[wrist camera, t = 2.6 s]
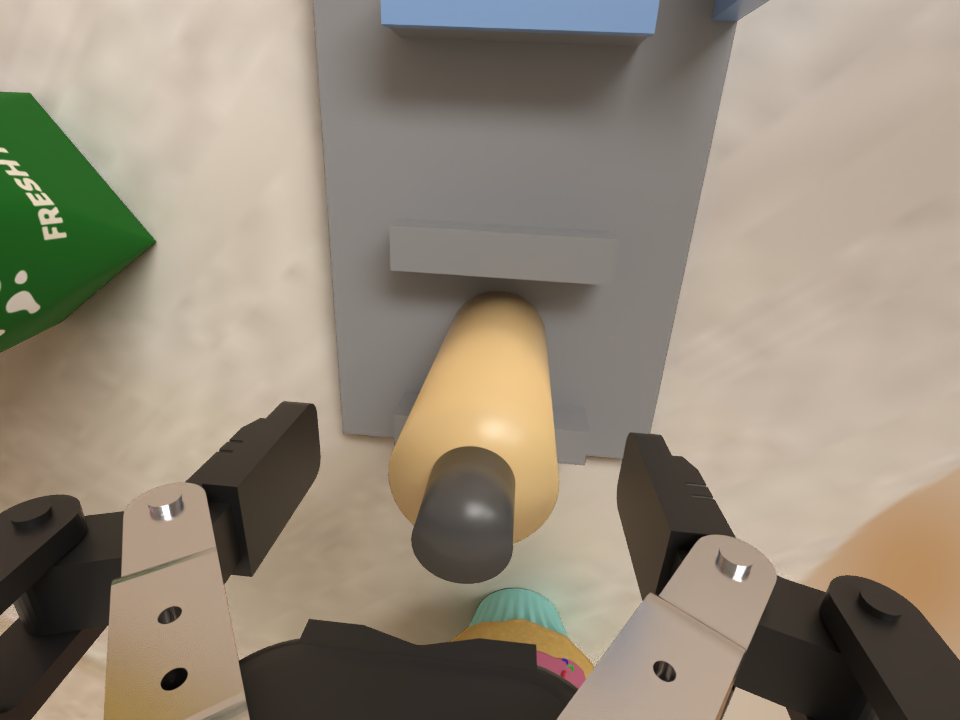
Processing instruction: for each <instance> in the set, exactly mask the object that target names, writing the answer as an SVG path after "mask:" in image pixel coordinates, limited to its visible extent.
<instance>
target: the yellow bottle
mask: <svg viewBox="0 0 960 720" xmlns="http://www.w3.org/2000/svg"><path fill="white" fill-rule="evenodd" d="M388 476H389V484H390V488H391V492H392V495H393V497H394V500H395V502H396V504H397V505H398V507H399V509H400V510H401V512H402V513H403V514H404V515H405V517H406V518H407V519H408V520H409V521H410V522H411V523H412V524H413V525H414V528H413V532H412V538H411V542H412V548H413V551H414V554H415V556H416V557H417V559H418V561H419V562H420V563H421V564H422V565H423V566H424V567H425V568H426V569H427V570H428V571H429V572H431V573H432V574H434V575H435V576H437V577H439V578H442V579H444V580H447V581H451V582H455V583H463V584H473V583H479V582H483V581H486V580H489V579H491V578H493V577H495V576H497V575H498V574H500V573H501V572H502V571H503V570H504V569H505V568H506V566H507V565H508V563H509V561H510V559H511V556H512V551H513V543H516V542H519V541H521V540H522V539H524V538H526V537H528V536H529V535H531V534H532V533H534V532H535V531H536V530H537V529H538V528H539V527H541V526H542V525H543V523H544V522H545V521H546V520H547V518H548V517H549V516H550V514H551V512H552V510H553V509H554V506H555V503H556V501H557V497H558V492H559V475H558V464H557V453H556V442H555V431H554V420H553V409H552V398H551V387H550V376H549V365H548V354H547V343H546V332H545V326H544V323H543V320H542V318H541V316H540V314H539V313H538V311H537V310H536V309H535V307H534V306H533V305H532V304H531V303H529V302H528V301H527V300H526V299H524V298H522V297H520V296H518V295H516V294H513V293H510V292H505V291H490V292H485V293H481V294H479V295H476V296H475V297H473V298H471V299H470V300H468V301H467V302H466V303H465V304H464V305H463V306H462V307H461V308H460V309H459V311H458V312H457V314H456V316H455V317H454V320H453V322H452V324H451V326H450V328H449V330H448V333H447V335H446V337H445V339H444V341H443V343H442V345H441V348H440V350H439V352H438V354H437V356H436V358H435V361H434V363H433V365H432V367H431V369H430V371H429V373H428V376H427V378H426V380H425V382H424V384H423V386H422V389H421V391H420V393H419V395H418V397H417V399H416V401H415V404H414V406H413V408H412V410H411V412H410V414H409V417H408V419H407V421H406V423H405V425H404V427H403V430H402V432H401V434H400V436H399V438H398V440H397V442H396V445H395V447H394V449H393V452H392V454H391V457H390V462H389V472H388Z"/></svg>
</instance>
